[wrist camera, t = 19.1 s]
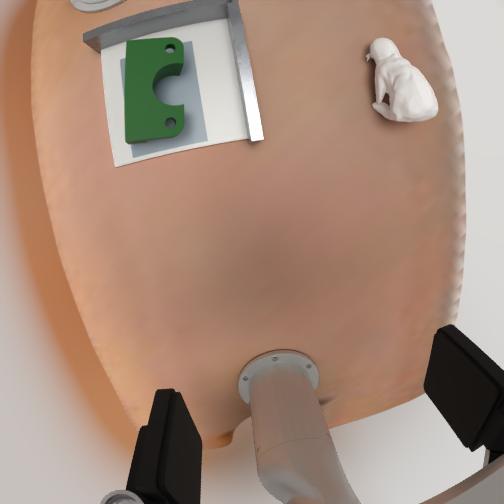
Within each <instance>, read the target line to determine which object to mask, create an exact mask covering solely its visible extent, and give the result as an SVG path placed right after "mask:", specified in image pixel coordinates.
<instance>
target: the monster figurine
mask: <svg viewBox="0 0 504 504" xmlns="http://www.w3.org/2000/svg"><path fill="white" fill-rule="evenodd" d="M70 1H71V3H72V5H73V6H74V7H75V8H76V9H78V10H79V11H81V12H85V13H97V12H102V11H105V10H108V9H111V8H113V7H116V6H117V5H119V4H121V3H123V2H124V1H126V0H70Z"/></svg>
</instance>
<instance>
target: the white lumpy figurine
mask: <svg viewBox="0 0 504 504" xmlns="http://www.w3.org/2000/svg"><path fill="white" fill-rule="evenodd" d="M367 57H368V59H367V61H368V60H369V59H370V58H371V57H372V58H373V59H374V61H375V63H376V69H375V89H376V102H374V103H373V104H372V106H373V108H374V109H375V110H376V111H378V112H379V113H380V114H382V115H383V116H384V117H385V118H387V119H389V120H394V121H399V122H401V121H402V122H421V121H425V120H429V119H430V118H432V117H435V116H436V114H437V112H438V103H437V99H436V97H435V95H434V91H433V89H432V88H431V86H430V84H429V83H428V82H427V80H426V79H425V77H424V76H423V74H422V73H421V72H420V71H419V70H418V69H417V68H416V67H414V66H412V65H411V64H410V62H409V61H408V60H405V59H404V58H402V56H401V55H400V54H399V51H398V49H397V47H396V46H395V44H394V43H393V42H392V41H391V40H389V39H387V38H377V39H375V40H374V41H373V42H372V43H371V45H370V53H369V54H368V55H367ZM367 57H366V58H367ZM370 60H371V59H370ZM385 93H388V95H389V96H390V98H389V101H390V106H389V105H388V104H386V103H384V102H382V100H383V97H384V95H385Z"/></svg>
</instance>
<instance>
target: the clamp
mask: <svg viewBox="0 0 504 504" xmlns="http://www.w3.org/2000/svg"><path fill="white" fill-rule="evenodd" d="M169 48H171V49H173V50H174V52H172V53H168V52H166V51H165V50H166V49H169ZM183 64H184V45H183V43H182V41H181V40H179V39H178V38H175V37H163V38H148V39H137V40H128V41H126V57H125V87H124V117H125V142H126V143H127V144H128V145H129V144H137V143H146V142H147V140H154V139H164V138H173V137H176V136H177V135H178V134H180V132H181V131H182V130H183V128H184V124H185V119H184V104H182V105H175V106H174V105H168V104H165V103H163V102H161V101H160V100H159V99H158V98H157V97H156V96H155V94H154V92H153V89H154V86H155V85H156V84H157V82H158V81H160V80H161V79H162V78H164V77H167V76H173V75H175V76H180V73H181V70H182V67H183ZM169 119H171V120H173V121H174V122H175V126H174V127H173V128H168V127H167V126H166V125H165V122H166V121H167V120H169Z"/></svg>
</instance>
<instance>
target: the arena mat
mask: <svg viewBox="0 0 504 504" xmlns="http://www.w3.org/2000/svg"><path fill="white" fill-rule="evenodd" d="M163 37H175V38H178V39H179V40H181V41H182V43H183V45H184V64H183V67H182V70H181V73H180V76H175V75H173V76H167V77H164V78H162V79H161V80H160V81H158V82H157V84H156V85H155V86H154V89H153V92H154V94H155V96H156V97H157V98H158V99H159V100H160V101H161V102H163V103H165V104H168V105H174V106H175V105H182V104H184V119H185V124H184V128H183V130H182V131H181V132H180V134H178V135H177V136H176V137H173V138H164V139H154V140H147V142H146V143H137V144H129V145H128V144H127V143H126V142H125V117H124V87H125V57H126V42H122V43H119V44H116V45H114V46H111V47H108V48H105V49H102V50H101V61H102V74H103V85H104V95H105V104H106V112H107V120H108V127H109V134H110V140H111V147H112V153H113V159H114V164H115V167H120V166H123V165H127V164H131V163H134V162H138V161H142V160H146V159H150V158H154V157H158V156H162V155H167V154H171V153H175V152H180V151H185V150H189V149H194V148H199V147H204V146H209V145H215V144H220V143H226V142H232V141H238V140H244V139H248V135H247V129H246V123H245V117H244V111H243V106H242V100H241V94H240V88H239V83H238V77H237V71H236V66H235V60H234V55H233V49H232V44H231V38H230V33H229V27H228V22H227V19H220V20H214V21H207V22H202V23H196V24H191V25H186V26H181V27H177V28H172V29H168V30H164V31H160V32H156V33H152V34H149V35H145V36H142V37H138V38H135V39H132V40H137V39H148V38H163ZM165 51H166V52H168V53H172V52H174V50H173V49H171V48H169V49H166V50H165ZM165 125H166V126H167V127H168V128H173V127H174V126H175V122H174V121H173V120H171V119H169V120H167V121H166V122H165Z"/></svg>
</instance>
